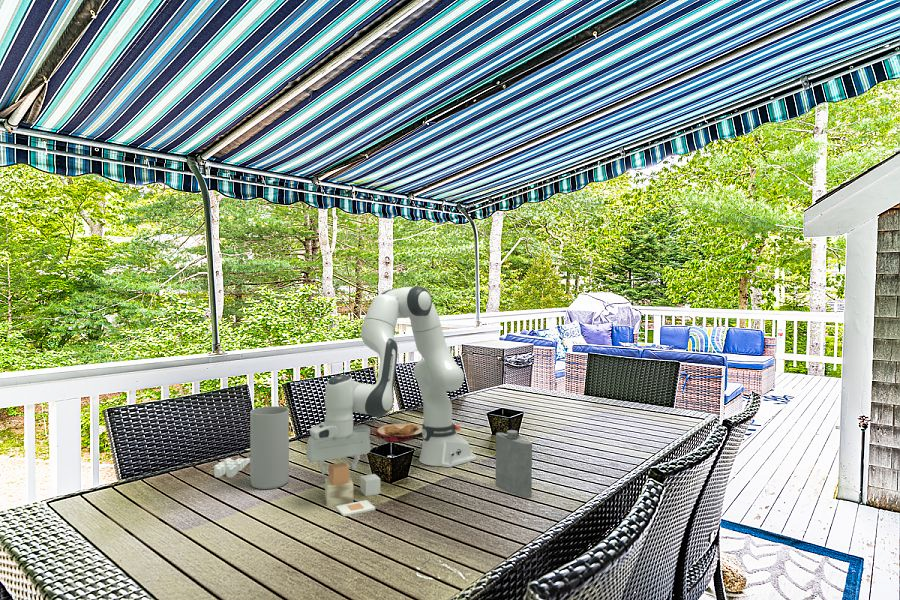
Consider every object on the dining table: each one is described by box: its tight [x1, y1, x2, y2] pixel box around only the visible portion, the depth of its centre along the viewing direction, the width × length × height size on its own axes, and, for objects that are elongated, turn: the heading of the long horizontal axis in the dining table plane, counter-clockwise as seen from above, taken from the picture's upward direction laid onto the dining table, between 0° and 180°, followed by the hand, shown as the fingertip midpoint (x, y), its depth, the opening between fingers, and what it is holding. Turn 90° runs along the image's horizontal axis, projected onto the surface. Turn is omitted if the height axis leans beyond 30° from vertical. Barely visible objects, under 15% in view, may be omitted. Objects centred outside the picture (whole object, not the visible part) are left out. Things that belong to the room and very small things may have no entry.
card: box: [335, 499, 376, 517], centre depth 168 cm, size 10×7×1 cm
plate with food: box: [370, 421, 423, 443], centre depth 255 cm, size 25×26×4 cm
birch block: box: [324, 475, 354, 507], centre depth 176 cm, size 8×8×6 cm
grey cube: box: [359, 473, 381, 497], centre depth 182 cm, size 5×5×5 cm
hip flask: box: [495, 429, 533, 499], centre depth 185 cm, size 16×4×20 cm, turn 37°
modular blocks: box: [213, 457, 250, 478], centre depth 204 cm, size 20×7×4 cm, turn 179°
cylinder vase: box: [249, 406, 290, 490], centre depth 189 cm, size 12×12×25 cm
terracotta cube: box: [328, 462, 350, 485], centre depth 175 cm, size 5×5×5 cm
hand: (339, 471), depth 175 cm, fingers open, 8 cm apart
